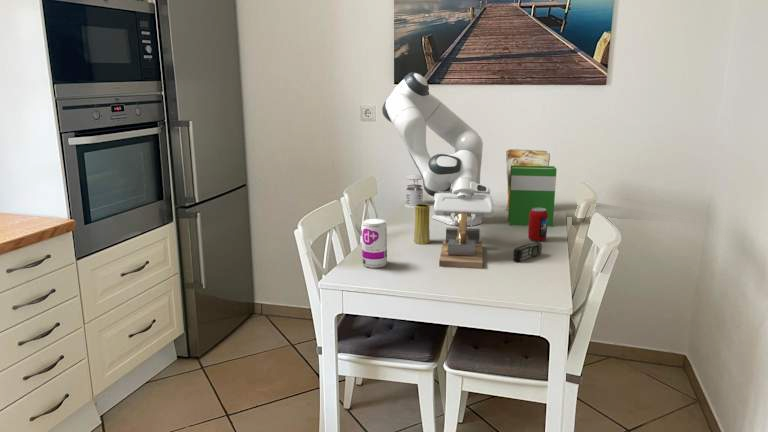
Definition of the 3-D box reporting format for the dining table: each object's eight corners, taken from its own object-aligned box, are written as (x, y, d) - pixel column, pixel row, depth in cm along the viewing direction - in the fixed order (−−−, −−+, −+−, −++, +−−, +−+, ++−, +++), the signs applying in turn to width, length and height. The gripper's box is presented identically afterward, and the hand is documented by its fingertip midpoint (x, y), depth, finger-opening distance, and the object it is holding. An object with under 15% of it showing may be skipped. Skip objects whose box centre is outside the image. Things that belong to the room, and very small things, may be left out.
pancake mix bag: (504, 207, 271) (507, 148, 264) (546, 210, 265) (550, 150, 258) (502, 210, 265) (505, 150, 258) (545, 214, 259) (549, 151, 252)
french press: (402, 207, 272) (402, 155, 265) (405, 202, 283) (406, 151, 277) (423, 208, 270) (424, 155, 264) (425, 203, 281) (426, 152, 275)
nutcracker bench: (443, 245, 213) (443, 226, 212) (481, 246, 211) (482, 228, 209) (439, 266, 190) (439, 246, 189) (482, 268, 188) (482, 248, 186)
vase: (432, 240, 219) (432, 204, 215) (426, 245, 213) (427, 207, 210) (417, 239, 221) (417, 202, 218) (411, 243, 216) (411, 206, 212)
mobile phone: (519, 250, 192) (546, 240, 201) (511, 248, 194) (538, 238, 203) (518, 264, 193) (545, 254, 203) (511, 261, 196) (538, 252, 205)
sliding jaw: (448, 249, 201) (449, 211, 197) (474, 250, 199) (476, 212, 196) (447, 254, 195) (448, 215, 192) (474, 255, 194) (476, 216, 190)
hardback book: (509, 225, 241) (511, 168, 235) (508, 220, 248) (510, 165, 242) (552, 226, 238) (556, 169, 232) (550, 222, 245) (554, 166, 239)
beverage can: (546, 242, 216) (548, 211, 213) (528, 241, 217) (530, 210, 214) (545, 237, 222) (547, 207, 219) (527, 236, 224) (529, 206, 221)
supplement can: (378, 270, 187) (378, 225, 183) (357, 265, 191) (356, 222, 188) (391, 263, 194) (391, 220, 190) (370, 259, 198) (370, 216, 194)
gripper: (434, 185, 200) (431, 220, 193) (494, 187, 197) (493, 222, 190) (434, 195, 205) (432, 229, 198) (493, 197, 202) (492, 231, 195)
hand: (462, 226), depth 194 cm, fingers open, 3 cm apart
